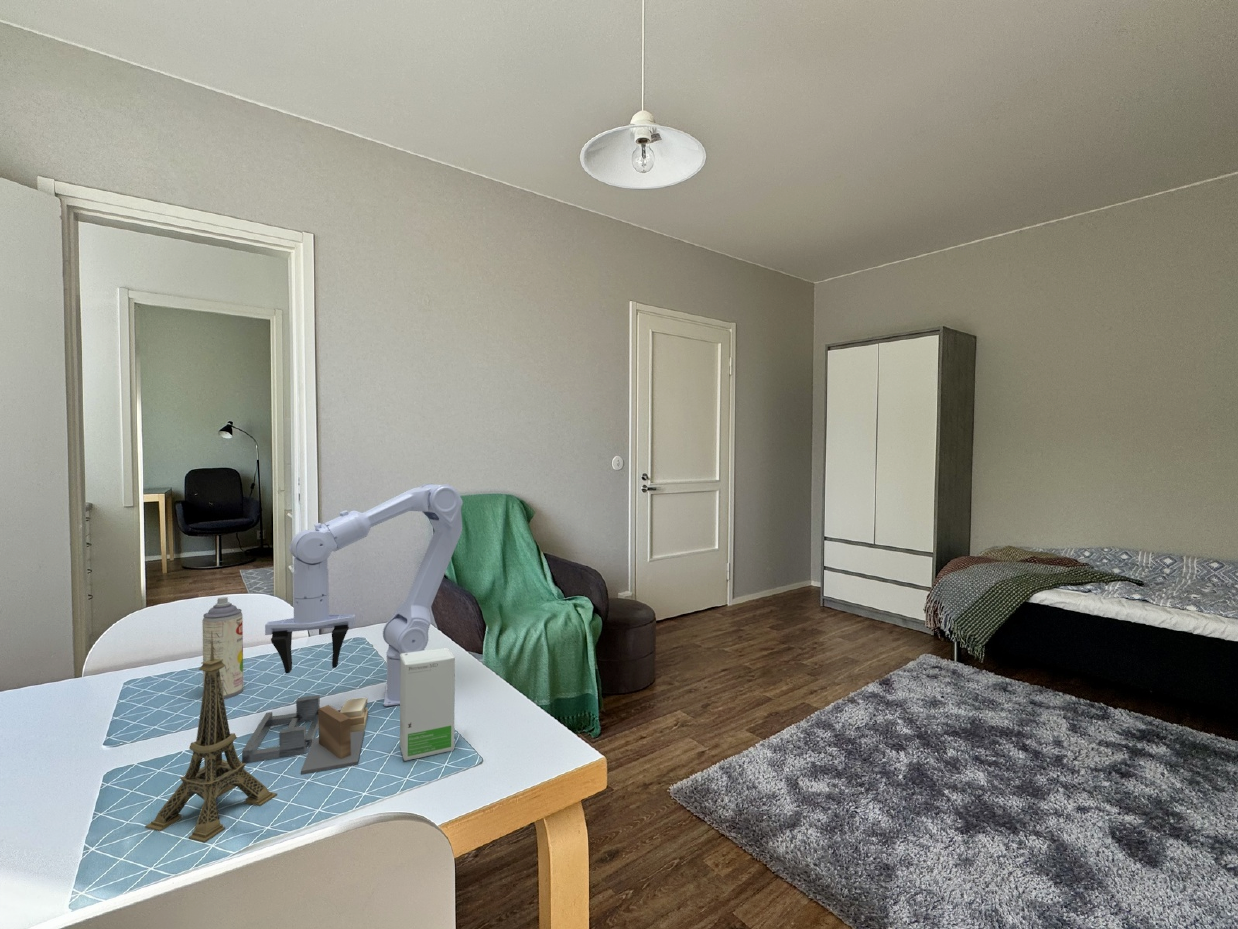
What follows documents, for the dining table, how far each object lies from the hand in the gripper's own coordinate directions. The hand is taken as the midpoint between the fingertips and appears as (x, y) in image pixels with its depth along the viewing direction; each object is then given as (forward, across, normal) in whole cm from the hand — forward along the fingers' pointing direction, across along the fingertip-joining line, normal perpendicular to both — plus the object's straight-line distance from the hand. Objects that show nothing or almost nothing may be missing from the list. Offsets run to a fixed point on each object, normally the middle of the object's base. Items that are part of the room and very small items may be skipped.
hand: (312, 668), depth 104 cm
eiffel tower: (+10, +8, +25) cm, 28 cm away
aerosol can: (+10, +20, -21) cm, 31 cm away
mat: (+10, -6, +14) cm, 18 cm away
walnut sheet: (+9, -5, +13) cm, 17 cm away
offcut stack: (+10, -7, +4) cm, 13 cm away
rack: (+10, +3, +5) cm, 12 cm away
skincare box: (+10, -20, +17) cm, 28 cm away
